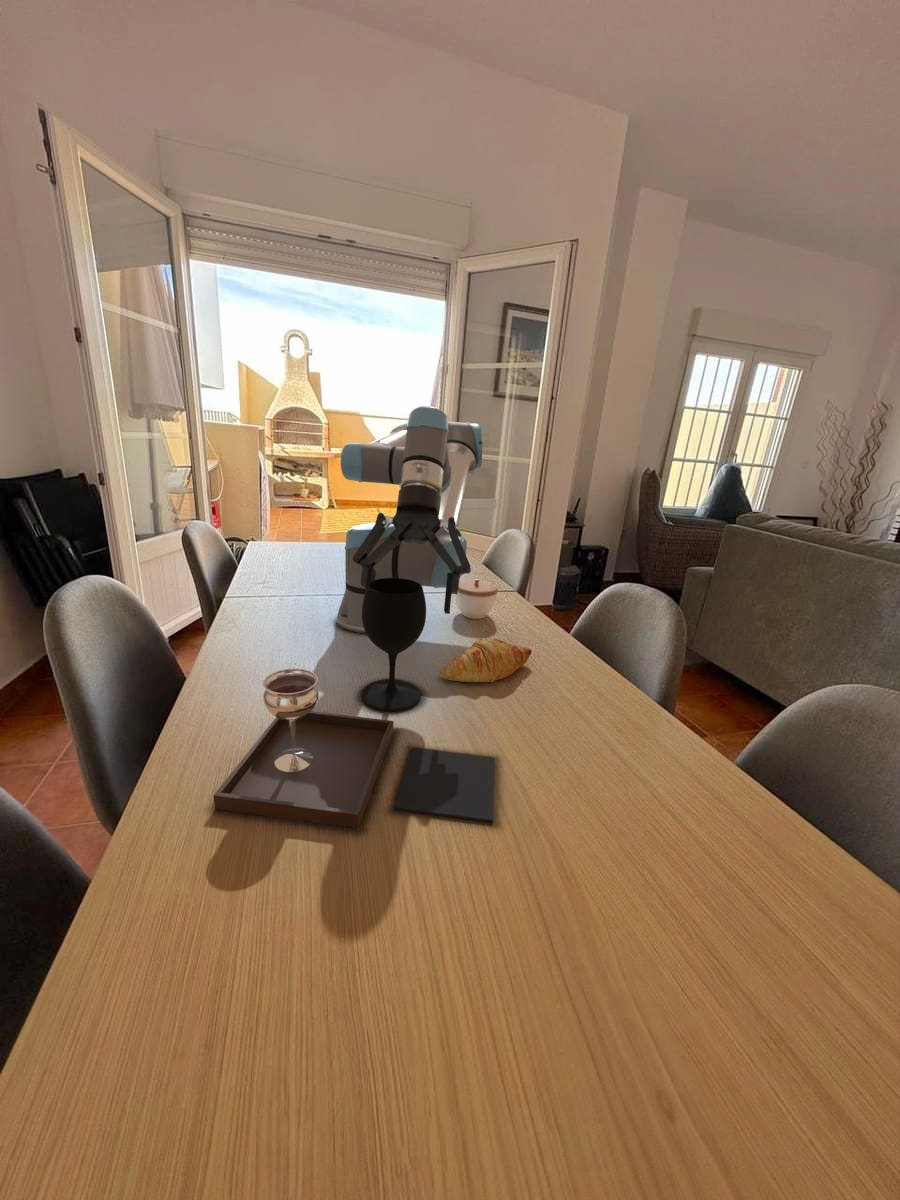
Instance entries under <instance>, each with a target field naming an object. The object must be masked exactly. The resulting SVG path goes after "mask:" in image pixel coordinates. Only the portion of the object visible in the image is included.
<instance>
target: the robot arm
mask: <svg viewBox="0 0 900 1200" xmlns="http://www.w3.org/2000/svg"><path fill="white" fill-rule="evenodd" d="M482 465H483V428H482V426H481V425H480V424H479V423H473V422H470V421H466V422H462V421H449V418H448V415H447V413H445V412H444V411H443V410H441V409H440V408H437V407H434V406H430V405H429V406H426V405H422V406H417V407H415V408H413V409H412V410H411V411H410V412H409V415H408V419H407V422H406V423H403V424H400V425H397V426H396V427H394V428H393V429H392V430H391V431H390V433H389V434H388V435H385V436H382V437H381V438H378V439H376V440H374V441H371V442H369V443H360V442H347V443H346V444H345V445H343V447H342V450H341V453H340V471H341V473H342V476H343V477H344V478H345V480H348V481H353V482H358V483H374V484H385V485H386V484H387V485H395V486H396V485H397V486H398V485H399V490H398V495H397V501H396V502H397V503H396V509H395V510H396V511H395V514H394V516H388V515H385V514H384V513H383V512H379V513H377V515H376V520H375V522H369V523H362V524H358V525H354V526H352V527H350V528H349V529H348V530H347V532H346V533H345V546H344V550H345V551H344V552H345V556H344V557H345V559H344V560H345V563H344V565H345V566H344V567H345V570H344V571H345V591H344V593H343V596H342V600H341V603H340V605H339V608H338V611H337V624H338V626H340V627H341V628H343V629H344V630H346V631H349V632H353V633H359V634H366V632H365V630H364V627H363V623H362V604H363V599H364V595H365V592H366V589H367V586H368V583H369V582H371V581H373V580H377V579H382V578H402V579H408V580H412V581H415V582H418V583H419V584H421V585H422V587H431V588H433V589H440V588H442V589H445V593H444V594H445V595H444V605H443V612H444V614H446V615H450V614H451V605H452V604H451V603H452V595H455V594H457V593H458V589H459V581H460V579H461V577H462V575H465V574H467V575H468V574H470V573H471V572H472V569H471V564H470V561H469V559H468V557H467V548H468V543H467V542H468V541H467V539H466V538H465V537H463V536H462V533H461V530H460V529H459V523H460V517H461V512H462V509H463V508H462V507H463V504H464V503H463V502H464V497H465V492H466V486H467V482H468V477H470V476H471V475H472V474H473V473H474V471H475V470H476V469H480V468H481V467H482Z"/></svg>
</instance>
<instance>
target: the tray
mask: <svg viewBox="0 0 900 1200" xmlns="http://www.w3.org/2000/svg"><path fill="white" fill-rule="evenodd" d="M394 724H395V723H394V720H390V719H389V720H388V719H379V718H372V717H364V716H363V717H362V716H355V715H347V714H338V713H331V712H323V711H314V710H311V711H310V712H309V713H308V714H306V715H305V716H304V717H302V718H300V719H297V720H296V721H295V748H301V749H305V750H308V751H309V752H311V754H312V755H313V760H312V763H311V764H310V765H309V766H308V767H306V768H304V769H302V770H299V771H295V772H285V771H281V770H279V769H278V768H276V766H275V759H276V757H277V756H278V755H279V754H280V753H282V752H284V751H286V750H289V749H292V745H291V735H290V724H289V721H287V720H282V719H279V718H277V717H276V716H275V718H274V719H273V721H272V722H271V723H270V724H269V725H268V727H267V728H266V729H265V730H264V731H263V733H262V734H261V735H260V736H259V738H258V739H257V741H255V743H254V744H253V745H252V746H251V748H250V749H249V750H248V752H247V753H246V754H245V755H244V757H243V758H242V759H241V761H240V762H239V763H238V764H237V765H236V767H234V769H233V770H232V772H231V773H230V774H229V775H228V777H226V779H225V780H224V782H223V783H222V784H221V785H220V787H218V789H217V790H216V791H215V793H214V794H213V802H214V809H215V810H220V811H228V812H235V813H243V814H249V815H257V816H264V817H271V818H278V819H284V820H285V819H286V820H293V821H300V822H306V823H307V822H308V823H315V824H323V825H329V826H336V827H344V828H352V829H359V828H360V824H361V822H362V819H363V816H364V814H365V811H366V808H367V805H368V802H369V800H370V797H371V795H372V792H373V789H374V786H375V784H376V780H377V778H378V775H379V772H380V769H381V767H382V765H383V762H384V758H385V756H386V753H387V750H388V747H389V745H390V742H391V739H392V737H393V734H394V727H395V725H394Z"/></svg>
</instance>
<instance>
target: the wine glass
mask: <svg viewBox="0 0 900 1200" xmlns="http://www.w3.org/2000/svg"><path fill="white" fill-rule="evenodd" d="M426 619H427V602H426V596H425V592H424V588H423V586H422V585H421V584H419V583H418V582H415V581H412V580H408V579H402V578H382V579H377V580H373V581H371V582H369V583H368V586H367V589H366V592H365V595H364V599H363V604H362V623H363V627H364V630H365V632H366V633H365V634H366V636H367V638H368V639H369V640H370V641H371V643H372V644H374V646H375V647H377V648H378V649H379V650H381V651H383V652H384V653H386V654H387V656H388V662H389V664H388V666H389V667H388V670H389V671H388V678H387V679H379V680H375V681H372V682H370V683H368V684H367V685H366V686H364V688H363V689H362V690H361V694H360V698H361V701H362V703H364V704H365V705H366V706H367V707H369V708H371V709H374V710H376V711H379V712H380V711H381V712H387V713H393V712H395V713H396V712H402V711H406V710H409V709H412V708H413V707H415V706H417V704H418V703H419V702H420V701H421V698H422V693H421V691H420V688H419V687H418V686H416V685H415V684H414V683H411V682H410V681H406V680H404V679H403V680H402V679H396V664H397V663H396V662H397V659H398V655H399V654H400V653H402V652H404V651H406V650H407V649H409V648H410V647H411V646H413V645H414V644H415V643H416V642H417V640H418V639H419V638H420V636H421V635H422V633H423V630H424V628H425V625H426Z"/></svg>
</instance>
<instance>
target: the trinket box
mask: <svg viewBox="0 0 900 1200" xmlns="http://www.w3.org/2000/svg"><path fill="white" fill-rule="evenodd" d="M498 589H499V588H498V586H497V585H496V584H494V583H492V582H489V581H486V580H481V579H479V578H475V579H462V580H459V589H458V593H457V594H454V601H455V604H456V607H457V609H458V611H460V613H461V615H462V616H464V617H466V618H468V619H483V618H485V617H486V616H487V615H488V614H490V613H491V611H492V610H493V608H494V606H495V604H496V600H497V593H498Z"/></svg>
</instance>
